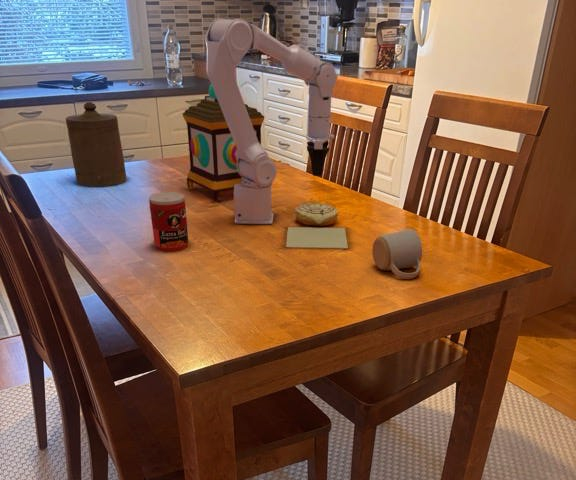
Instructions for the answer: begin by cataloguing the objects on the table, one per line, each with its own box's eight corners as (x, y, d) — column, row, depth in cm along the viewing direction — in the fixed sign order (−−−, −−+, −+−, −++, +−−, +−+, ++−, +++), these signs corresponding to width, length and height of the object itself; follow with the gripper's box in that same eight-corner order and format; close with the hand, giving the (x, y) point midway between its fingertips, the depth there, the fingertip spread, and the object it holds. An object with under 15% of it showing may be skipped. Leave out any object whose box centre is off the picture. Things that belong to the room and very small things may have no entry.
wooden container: (105, 172, 188) (93, 97, 176) (136, 179, 181) (126, 101, 169) (66, 182, 178) (51, 103, 166) (98, 189, 171) (84, 108, 159)
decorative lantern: (273, 194, 168) (272, 77, 152) (213, 205, 159) (205, 82, 142) (238, 179, 182) (234, 71, 166) (181, 188, 173) (170, 75, 156)
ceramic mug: (368, 264, 123) (371, 228, 119) (401, 258, 126) (405, 223, 122) (394, 283, 115) (399, 246, 111) (429, 277, 118) (435, 240, 114)
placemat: (286, 247, 132) (286, 246, 131) (288, 227, 143) (288, 227, 143) (347, 248, 131) (347, 247, 131) (344, 228, 143) (344, 228, 143)
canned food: (160, 253, 128) (154, 203, 122) (150, 242, 134) (144, 194, 128) (193, 248, 131) (189, 199, 125) (182, 237, 137) (177, 190, 131)
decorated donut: (323, 230, 141) (323, 215, 139) (287, 222, 146) (287, 207, 144) (344, 220, 148) (345, 205, 146) (309, 213, 153) (310, 198, 151)
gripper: (336, 121, 138) (333, 180, 145) (334, 111, 150) (331, 166, 157) (306, 121, 138) (305, 179, 145) (306, 111, 150) (305, 166, 157)
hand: (317, 173), depth 151 cm, fingers open, 5 cm apart
